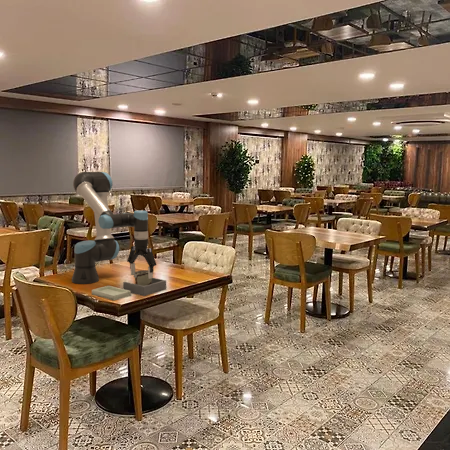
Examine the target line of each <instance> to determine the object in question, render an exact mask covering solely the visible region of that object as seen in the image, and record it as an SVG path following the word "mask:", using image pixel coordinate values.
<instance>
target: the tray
mask: <svg viewBox="0 0 450 450" xmlns="http://www.w3.org/2000/svg"><path fill="white" fill-rule="evenodd" d="M91 295H92V296H95V297H100V298H103V299H107V300H111V301H117V300H121V299H124V298H128V297H131V296H132V293H131V291H129V290H125V289H123V288H119V287H116V286H112V285H106V286H101V287H97V288H94V289H91Z"/></svg>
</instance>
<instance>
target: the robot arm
mask: <svg viewBox="0 0 450 450" xmlns="http://www.w3.org/2000/svg"><path fill="white" fill-rule="evenodd" d="M112 179H113V178H112V177H111V175H110V174H109V173H107V172H104V171H82V172H79V173H78V174H76V175H75V177H74V179H73V182H72V186H73V189H74V191H75V192H76V194H77V195H78V196H79V197H82V198H83V199H84V201H85V203H87V205H88V206H89V207H90V209H92V212H94V222H95V224H94V225H95V232H96V237H95V238H94V240H90V239H88V240H83V241H79V242H77V243H76V244H74V270H73V273H72V277H71V282H72V283H73V284H78V285H85V284H95V283H97V282H99V279H100V278H99V274H98V271H97V268H96V267H97V266H96V263H97V262H98V263H99V262H104V261H112V260H115V259H116V258H117V257H118V255H119V252H120V245H119V243H118V241H117V240H115V237H114V236H113V234H112V231H111V229H116V228H133V234H134V235H133V236H134V237H133V238H134V241H133V243H134V244H133V246H131V247H130V252H129V254H128V258H127V259H126V261H127V263H129V269H130V276H134V273H135V272H136V263H135V261H136V260H137V258H138V257H139V256H142V257H143V258H144V260H145V261H146V264H147V265H148V268H147V269H148V279H150V278H154V267H156V266H157V262H156V259H155V256H154V253H153V248H152V247H151V248H148V246H149V214H148V213H149V212H148V211H147V210H134V211H133V213H132V212H123V213H114V212H113V211H112V210H111V209H110V208H109V202H108V201H109V200H108V195H110V191H111V190H112V189H113V180H112Z"/></svg>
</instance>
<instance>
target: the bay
mask: <svg viewBox="0 0 450 450" xmlns="http://www.w3.org/2000/svg"><path fill="white" fill-rule="evenodd" d="M122 289H125V290H129V291H131V294H135V295H139V296H142V297H147V296H148V295H152V294H155V293H158V292H161V291H165V290H167V280H166V279H161V278H157V277H153V278H152V284H150V285H146V286H141V285H137V284H135V283H132V282H129V281H123V282H122Z"/></svg>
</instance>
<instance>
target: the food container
mask: <svg viewBox="0 0 450 450" xmlns="http://www.w3.org/2000/svg"><path fill="white" fill-rule="evenodd" d="M133 278H134V282H135V283H134V284H137V285H141V286H146V285H150V284H152V278H150V279H148V270H146V269H143V270H137V271H136V270H135V273H134V275H133Z"/></svg>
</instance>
